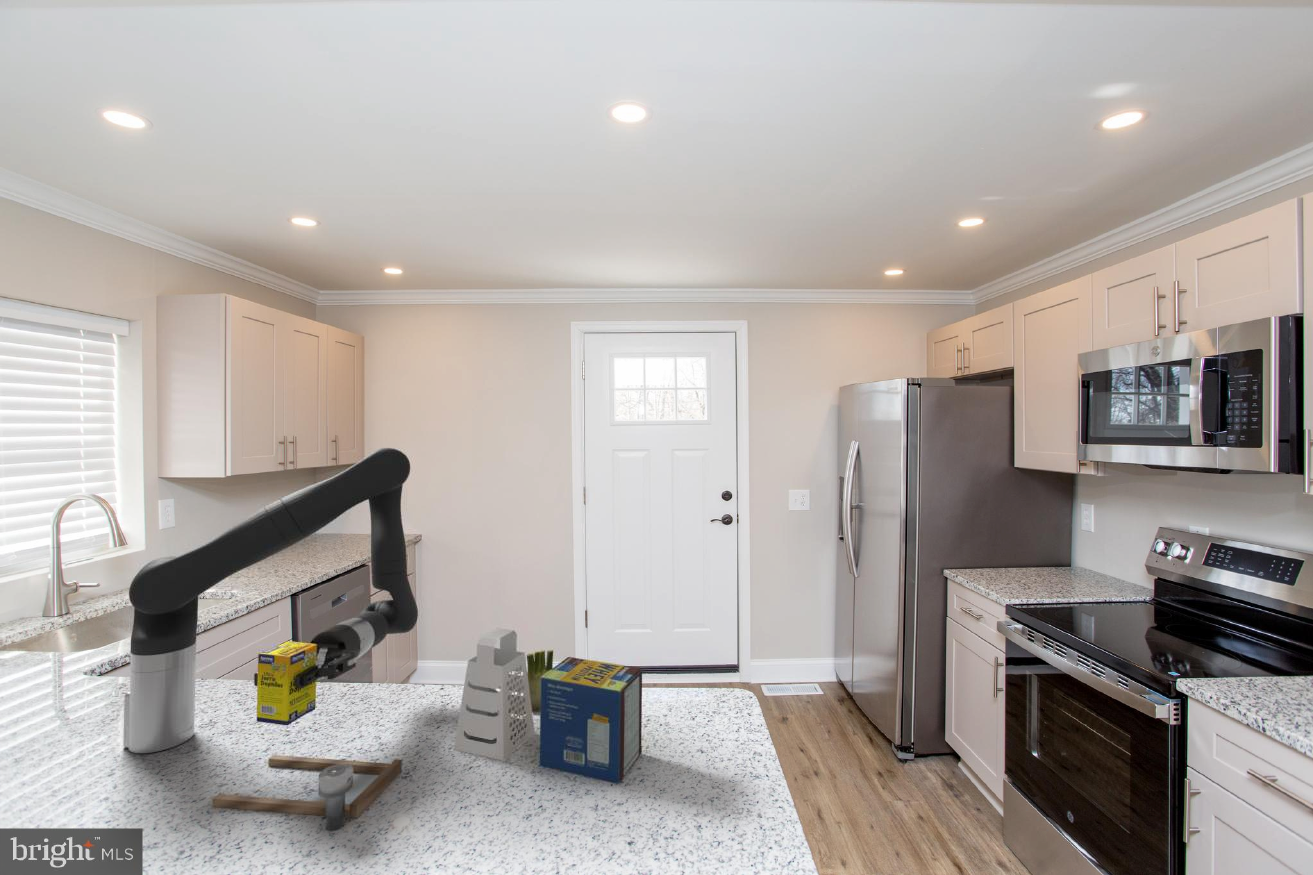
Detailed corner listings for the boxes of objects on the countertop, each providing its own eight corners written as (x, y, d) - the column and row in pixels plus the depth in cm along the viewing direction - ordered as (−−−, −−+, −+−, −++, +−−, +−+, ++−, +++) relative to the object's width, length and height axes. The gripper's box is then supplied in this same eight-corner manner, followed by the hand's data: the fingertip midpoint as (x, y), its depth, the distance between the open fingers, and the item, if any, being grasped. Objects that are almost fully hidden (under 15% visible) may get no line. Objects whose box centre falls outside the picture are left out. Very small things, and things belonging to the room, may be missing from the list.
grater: (534, 732, 112) (536, 628, 113) (503, 760, 103) (505, 646, 103) (488, 723, 116) (490, 622, 116) (453, 749, 106) (455, 638, 106)
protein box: (566, 737, 111) (567, 655, 111) (642, 753, 106) (643, 667, 106) (537, 766, 101) (538, 676, 101) (619, 785, 96) (621, 690, 96)
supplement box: (288, 726, 91) (289, 656, 91) (255, 722, 92) (256, 653, 92) (317, 709, 97) (318, 643, 97) (286, 705, 98) (287, 640, 98)
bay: (212, 806, 89) (212, 793, 89) (273, 761, 101) (273, 750, 101) (357, 818, 86) (357, 804, 86) (401, 771, 99) (401, 759, 99)
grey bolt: (310, 834, 83) (311, 777, 83) (330, 814, 87) (331, 760, 87) (339, 836, 82) (340, 779, 82) (358, 816, 87) (359, 762, 87)
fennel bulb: (553, 702, 126) (554, 646, 126) (552, 713, 121) (553, 654, 121) (525, 703, 125) (526, 647, 125) (523, 714, 120) (524, 655, 120)
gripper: (306, 621, 109) (234, 655, 93) (380, 625, 108) (320, 660, 91) (306, 662, 109) (233, 702, 93) (379, 666, 108) (319, 707, 91)
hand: (277, 681), depth 92 cm, fingers closed on supplement box, 6 cm apart
